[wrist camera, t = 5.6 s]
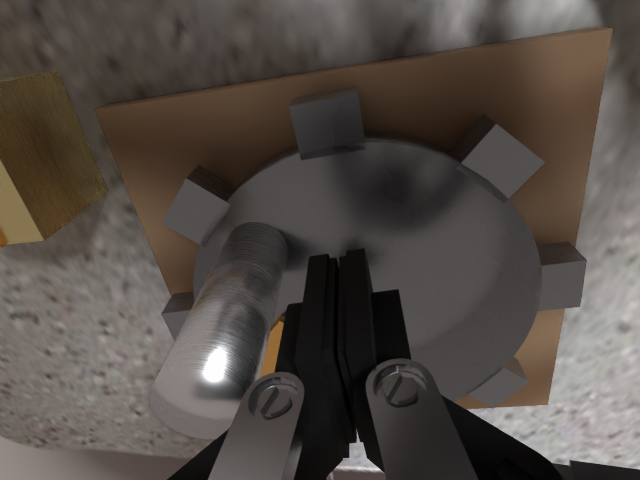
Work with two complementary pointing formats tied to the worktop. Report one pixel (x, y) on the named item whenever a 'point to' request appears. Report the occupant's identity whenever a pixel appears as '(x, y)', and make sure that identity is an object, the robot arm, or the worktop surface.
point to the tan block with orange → (42, 159)
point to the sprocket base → (392, 117)
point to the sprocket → (381, 249)
